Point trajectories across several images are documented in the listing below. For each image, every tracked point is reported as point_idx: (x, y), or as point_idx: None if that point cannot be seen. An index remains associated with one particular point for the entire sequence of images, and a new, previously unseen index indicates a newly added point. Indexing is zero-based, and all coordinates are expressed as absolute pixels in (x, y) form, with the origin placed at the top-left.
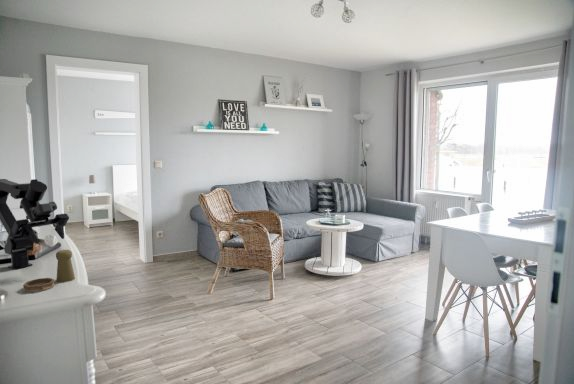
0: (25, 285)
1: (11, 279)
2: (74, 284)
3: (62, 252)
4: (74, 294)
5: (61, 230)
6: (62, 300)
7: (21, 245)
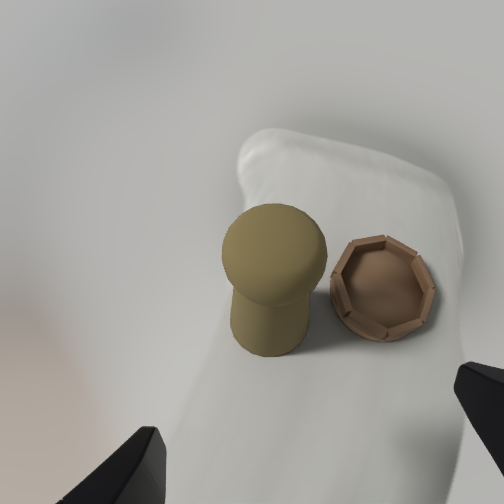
0: (429, 278)
1: (428, 499)
2: None
3: (295, 209)
4: (305, 161)
5: (104, 501)
6: (340, 149)
7: None
